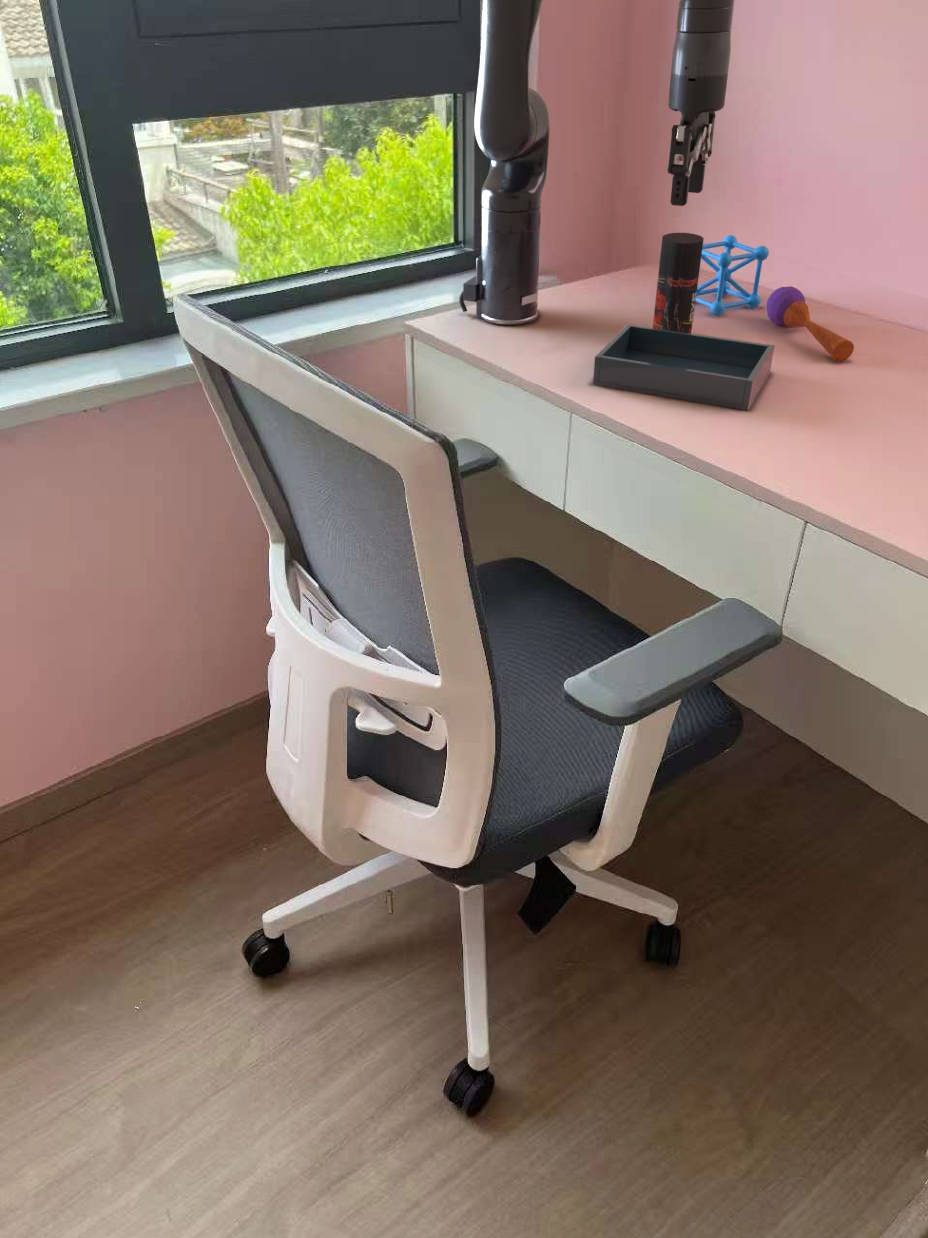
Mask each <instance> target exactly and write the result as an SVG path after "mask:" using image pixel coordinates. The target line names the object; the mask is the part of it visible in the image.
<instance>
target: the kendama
mask: <svg viewBox="0 0 928 1238" xmlns="http://www.w3.org/2000/svg"><path fill="white" fill-rule="evenodd" d="M765 311H766V315H767V318H768V319H769V320H770V321H771V322H772V323H773V324H775V325H777V326H780V327H788V328H804V327H805V328H806V330H808V331H809V333H810V334H811V335H812V336H813V337H814V339H815V340H816V341H817V342H818V343H819V345H820V346H821V347H822V348H823V349H824V350H825V351H826V352H827V354H829V356H830V357H831V358H832V359H833V360H834V361H835V362H837V363H843V362H845V361H846V360H848V359H849V358H850V357H851V356H852V354H853V352H854V349H855V346H854V343H853V341H851V340H849V339H847V338H845V337H844V336H841V335H840V334H838V333H836V332H834V331H832V330H830V329H827V328H826V327H824V326H822V325H821V324H818V323H816V322H815V321H812V320H811V316H810V311H809V305H808V304H807V303H806V298H805V295H804V294H803V293H802V291H801V290H799V289H798V288H796V287H794V286H792V285H791V286H780V287H778V288H776V289H775V290H773V291H772V292H771V293H770V295H769V296H768V298H767V300H766V303H765Z"/></svg>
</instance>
